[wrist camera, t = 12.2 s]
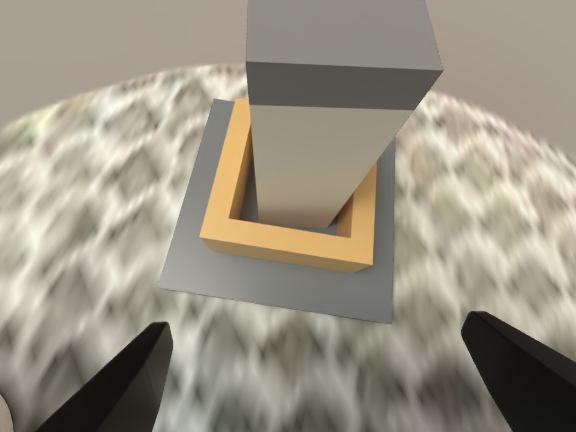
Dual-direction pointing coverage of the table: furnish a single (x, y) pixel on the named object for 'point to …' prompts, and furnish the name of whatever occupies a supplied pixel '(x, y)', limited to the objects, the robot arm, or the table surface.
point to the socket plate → (279, 235)
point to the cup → (5, 417)
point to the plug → (330, 97)
